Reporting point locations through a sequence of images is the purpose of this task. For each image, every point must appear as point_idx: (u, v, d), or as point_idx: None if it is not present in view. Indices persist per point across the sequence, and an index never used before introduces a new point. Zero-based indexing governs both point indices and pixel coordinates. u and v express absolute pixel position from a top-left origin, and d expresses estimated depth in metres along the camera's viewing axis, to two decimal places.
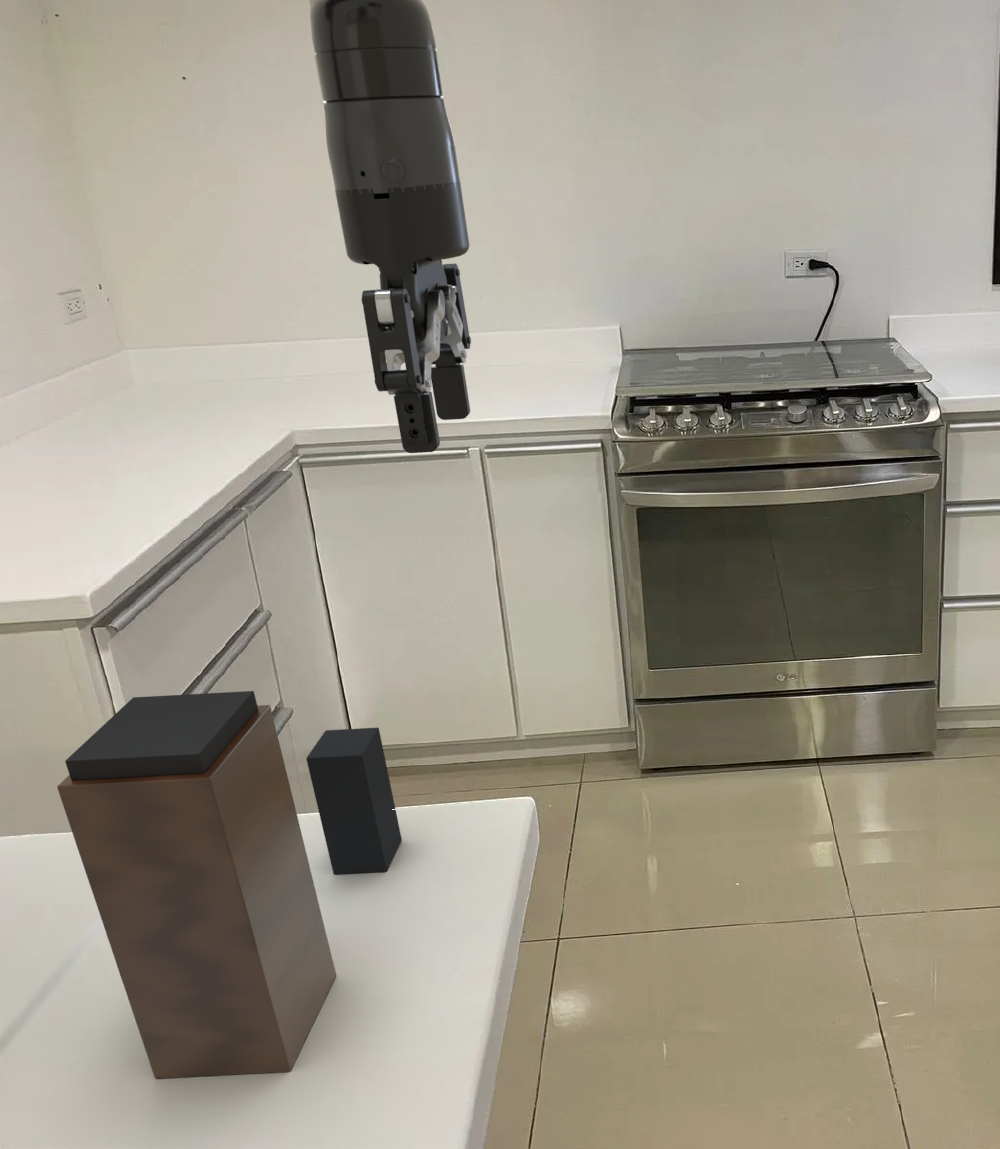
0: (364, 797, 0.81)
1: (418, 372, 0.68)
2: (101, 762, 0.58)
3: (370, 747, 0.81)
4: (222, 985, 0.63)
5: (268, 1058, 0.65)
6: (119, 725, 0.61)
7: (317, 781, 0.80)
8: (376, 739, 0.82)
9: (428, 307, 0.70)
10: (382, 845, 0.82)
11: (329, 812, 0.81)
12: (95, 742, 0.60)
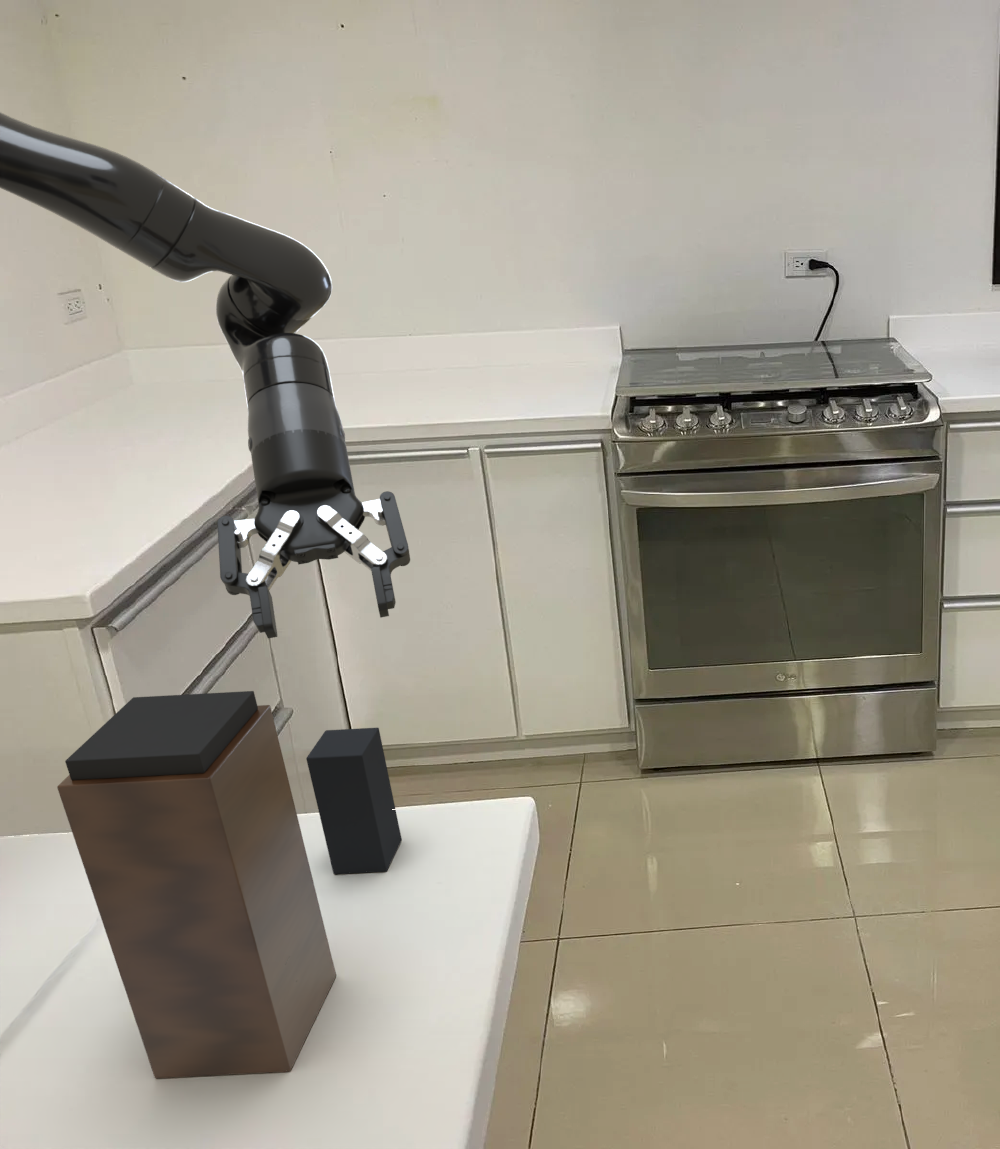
0: (364, 797, 0.81)
1: (232, 570, 0.88)
2: (101, 762, 0.58)
3: (370, 747, 0.81)
4: (222, 985, 0.63)
5: (268, 1058, 0.65)
6: (119, 725, 0.61)
7: (317, 781, 0.80)
8: (376, 739, 0.82)
9: None
10: (382, 845, 0.82)
11: (329, 812, 0.81)
12: (95, 742, 0.60)
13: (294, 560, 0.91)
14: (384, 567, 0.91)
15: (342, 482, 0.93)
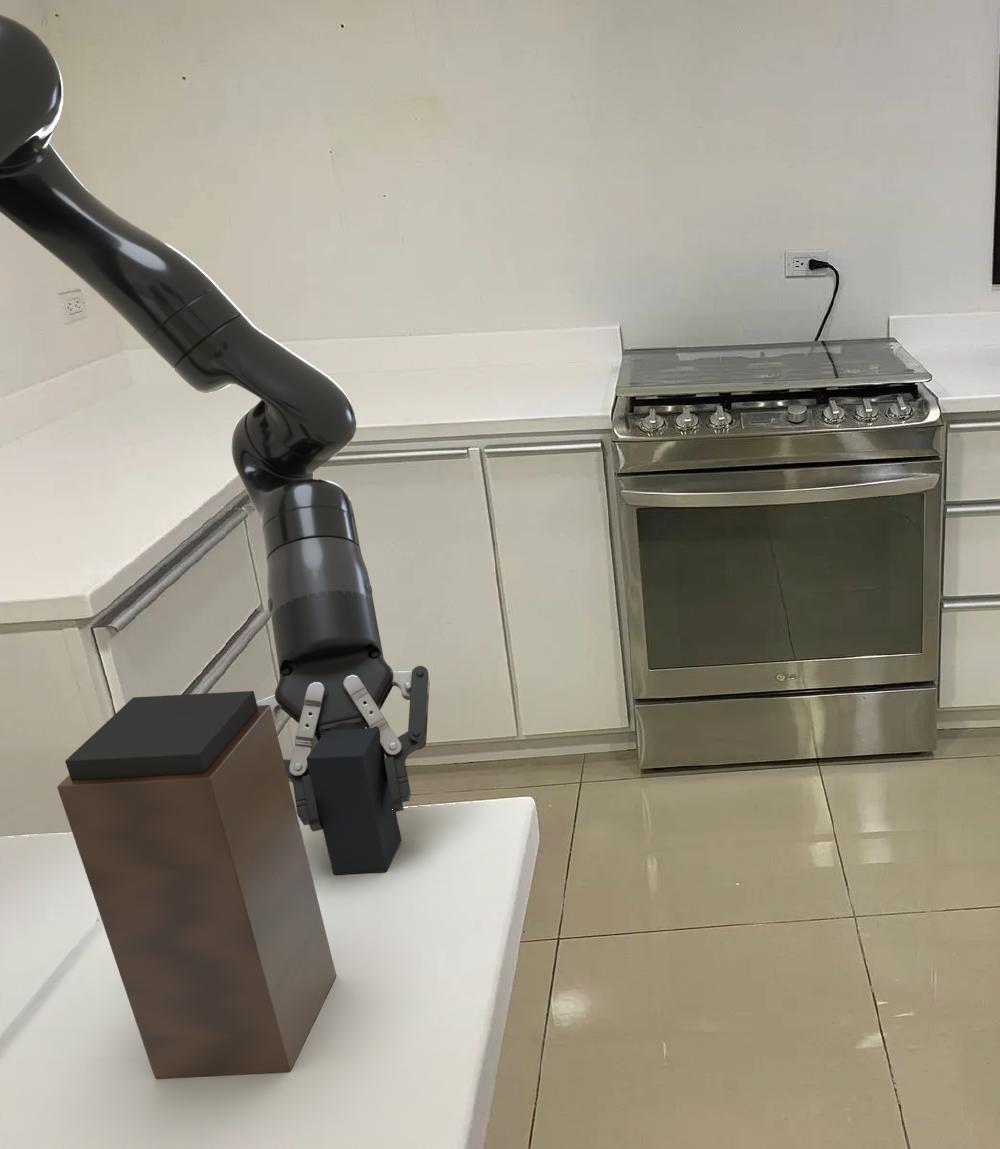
0: (364, 797, 0.81)
1: None
2: (101, 762, 0.58)
3: (370, 748, 0.81)
4: (222, 985, 0.63)
5: (268, 1058, 0.65)
6: (119, 725, 0.61)
7: (317, 781, 0.80)
8: (376, 739, 0.82)
9: None
10: (382, 845, 0.82)
11: (329, 812, 0.81)
12: (95, 742, 0.60)
13: (318, 735, 0.84)
14: (398, 756, 0.83)
15: (370, 645, 0.86)
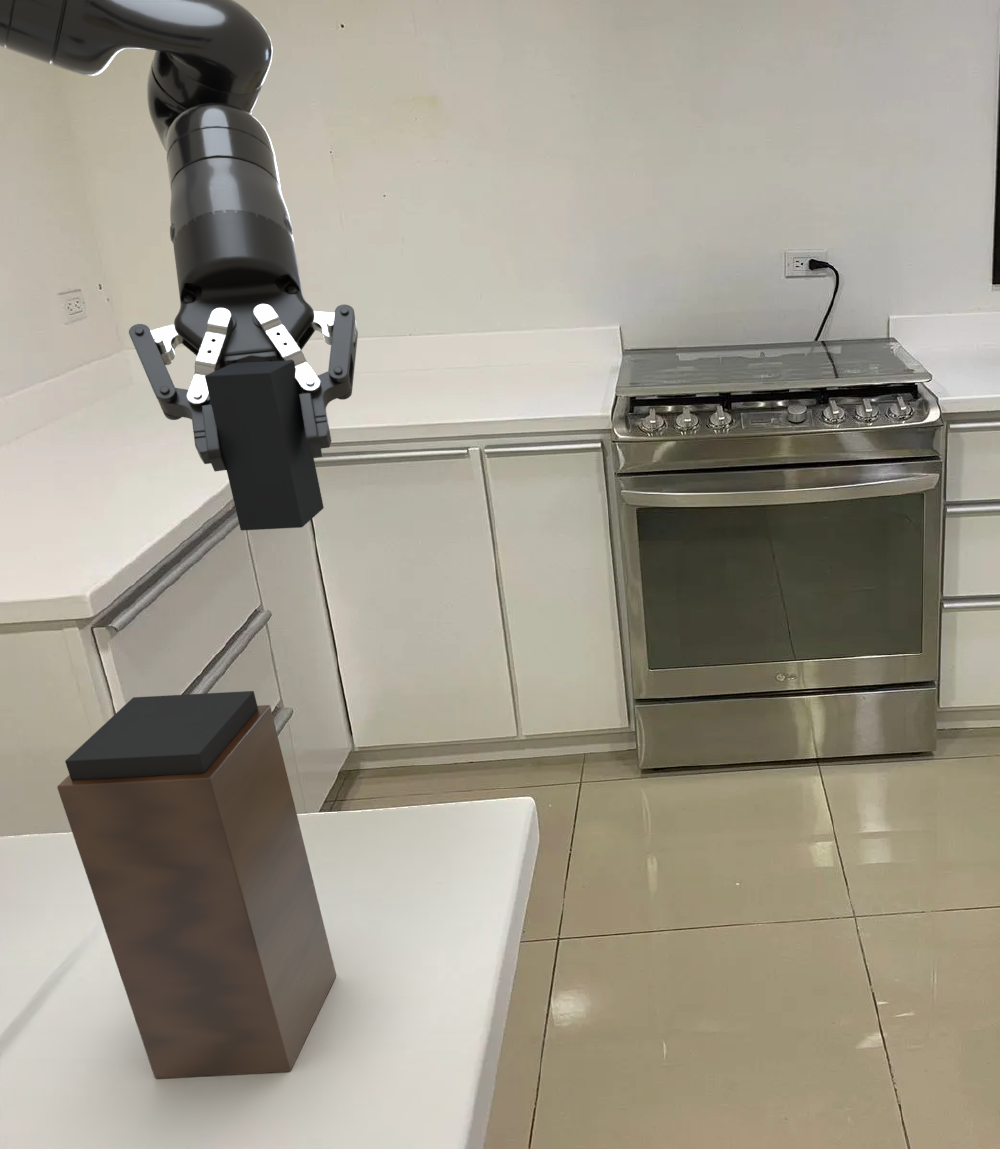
0: (274, 428, 0.69)
1: (168, 384, 0.69)
2: (101, 762, 0.58)
3: (281, 373, 0.70)
4: (222, 985, 0.63)
5: (268, 1058, 0.65)
6: (119, 725, 0.61)
7: (218, 407, 0.69)
8: (290, 370, 0.71)
9: None
10: (297, 494, 0.71)
11: (233, 448, 0.70)
12: (95, 742, 0.60)
13: None
14: (317, 395, 0.72)
15: (288, 280, 0.74)
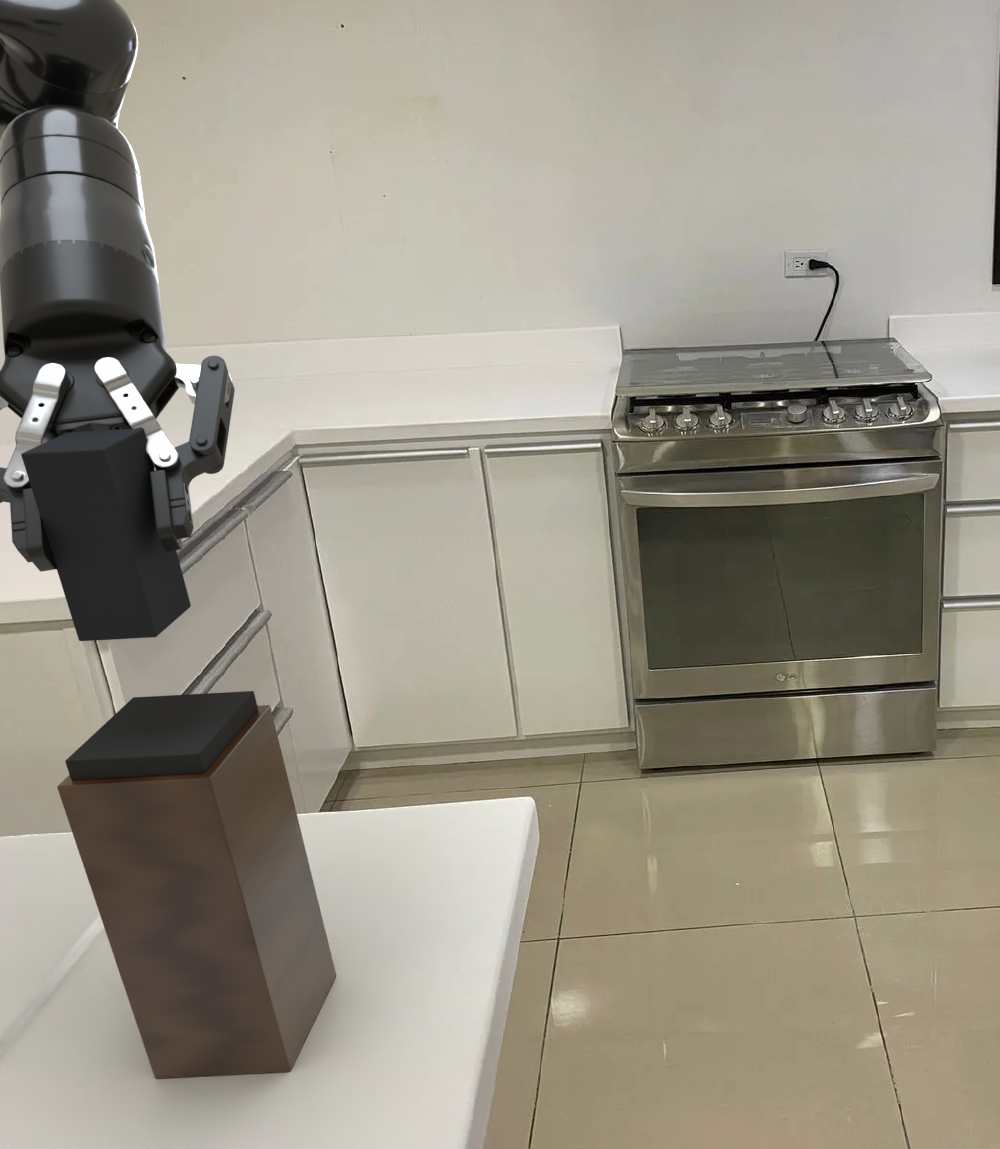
0: (113, 518, 0.55)
1: None
2: (101, 762, 0.58)
3: (122, 447, 0.55)
4: (222, 985, 0.63)
5: (268, 1058, 0.65)
6: (119, 725, 0.61)
7: (41, 492, 0.54)
8: (138, 442, 0.57)
9: None
10: (147, 597, 0.57)
11: (63, 542, 0.55)
12: (95, 742, 0.60)
13: None
14: (174, 472, 0.58)
15: (143, 326, 0.60)
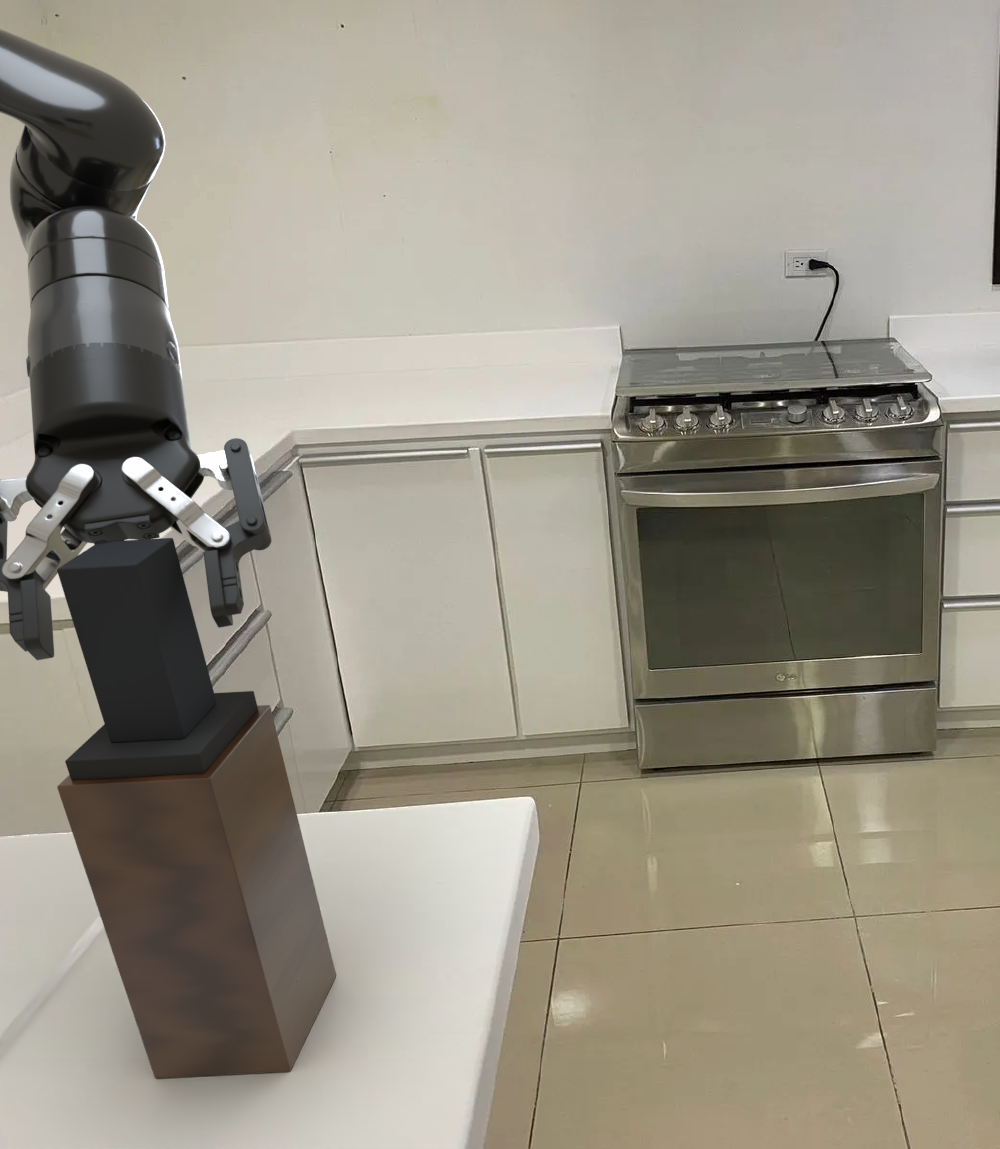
0: (144, 628, 0.57)
1: None
2: (101, 762, 0.58)
3: (153, 560, 0.57)
4: (222, 985, 0.63)
5: (268, 1058, 0.65)
6: None
7: (75, 604, 0.57)
8: (167, 552, 0.59)
9: None
10: (176, 701, 0.59)
11: (96, 651, 0.58)
12: (95, 742, 0.60)
13: (88, 540, 0.60)
14: (225, 551, 0.60)
15: (168, 424, 0.62)
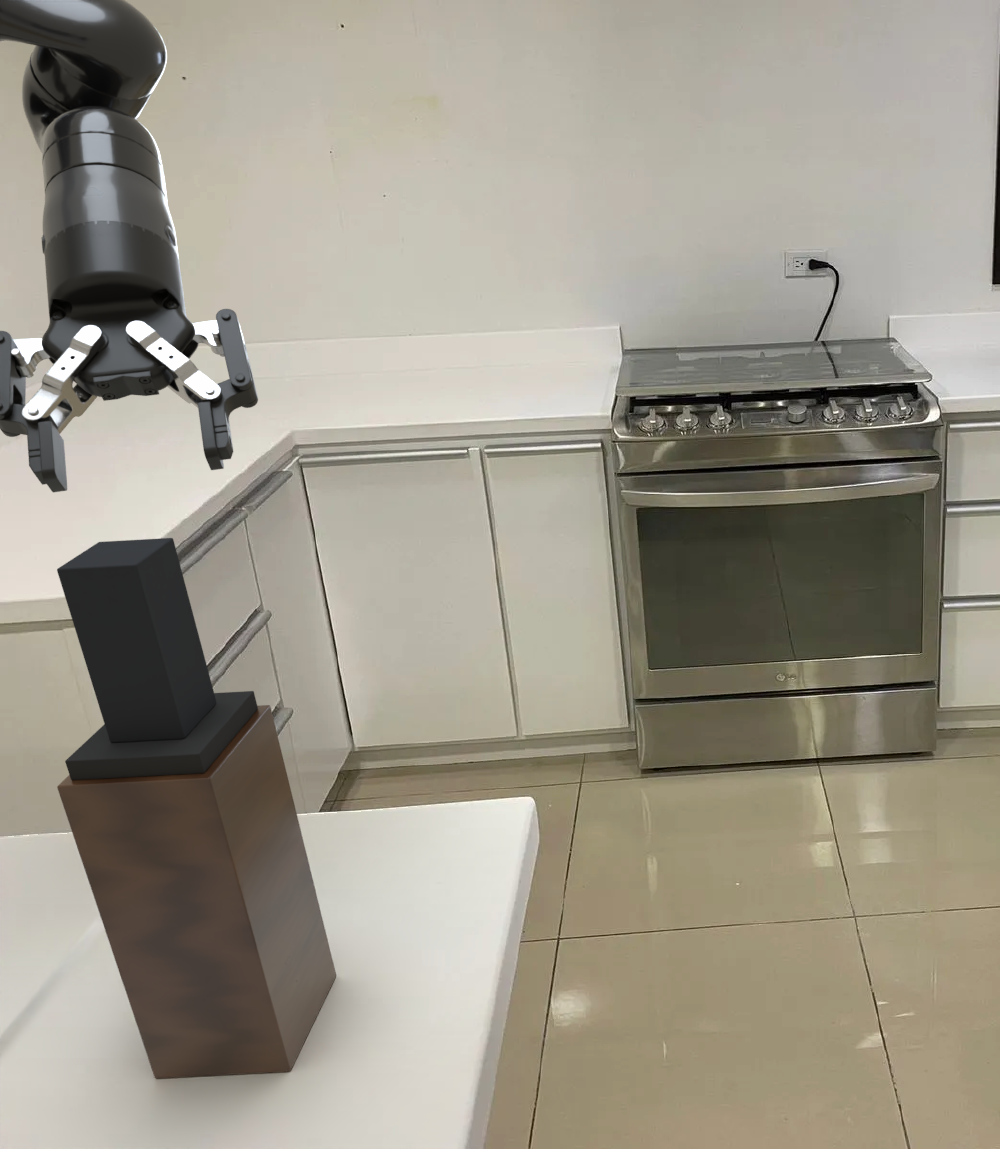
0: (144, 628, 0.57)
1: (4, 400, 0.65)
2: (101, 762, 0.58)
3: (153, 560, 0.57)
4: (222, 985, 0.63)
5: (268, 1058, 0.65)
6: None
7: (75, 604, 0.57)
8: (167, 552, 0.59)
9: None
10: (176, 701, 0.59)
11: (96, 651, 0.58)
12: (95, 742, 0.60)
13: (96, 393, 0.68)
14: (217, 404, 0.69)
15: (166, 295, 0.70)
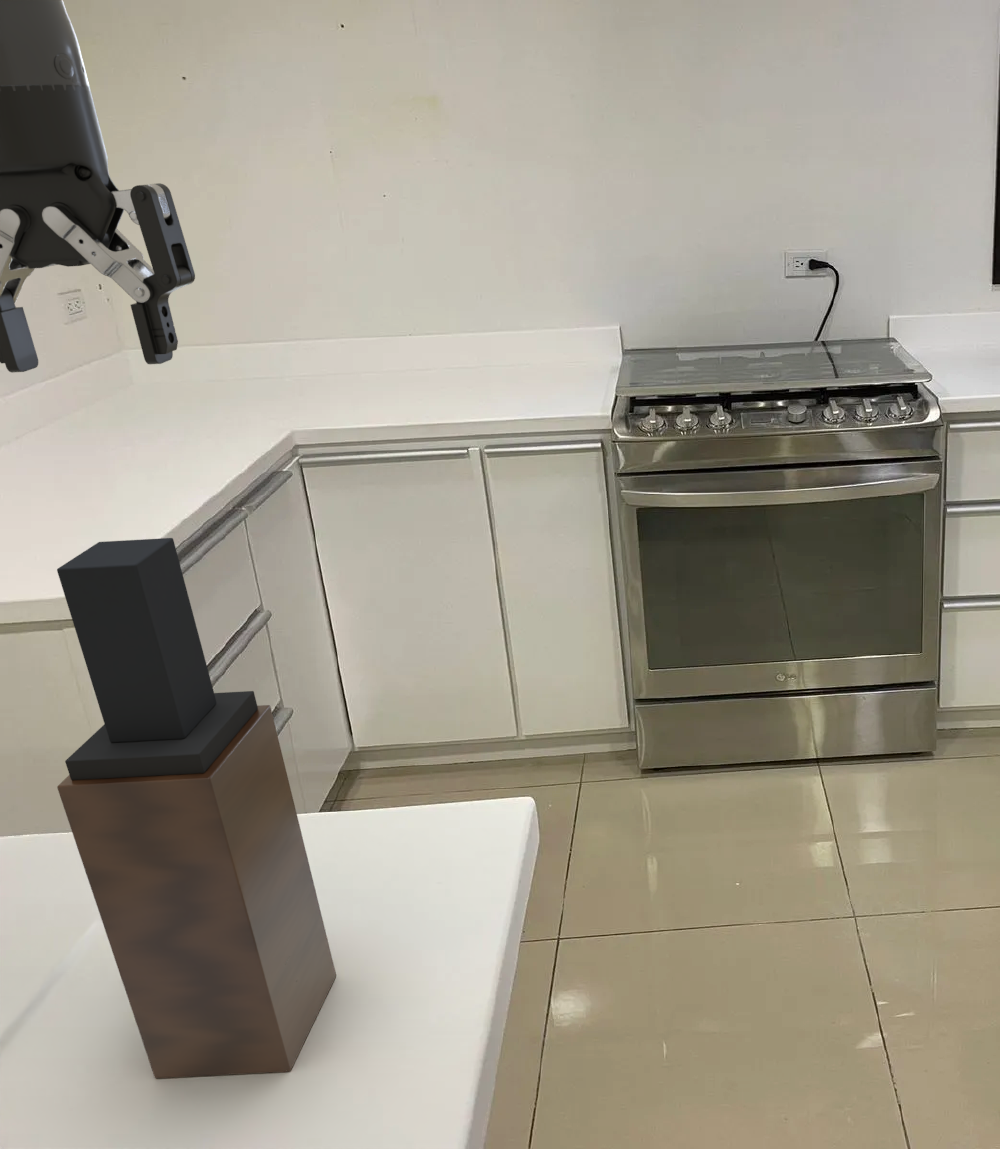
0: (144, 628, 0.57)
1: None
2: (101, 762, 0.58)
3: (153, 560, 0.57)
4: (222, 985, 0.63)
5: (268, 1058, 0.65)
6: None
7: (75, 604, 0.57)
8: (167, 552, 0.59)
9: None
10: (176, 701, 0.59)
11: (96, 651, 0.58)
12: (95, 742, 0.60)
13: None
14: (150, 302, 0.68)
15: None
